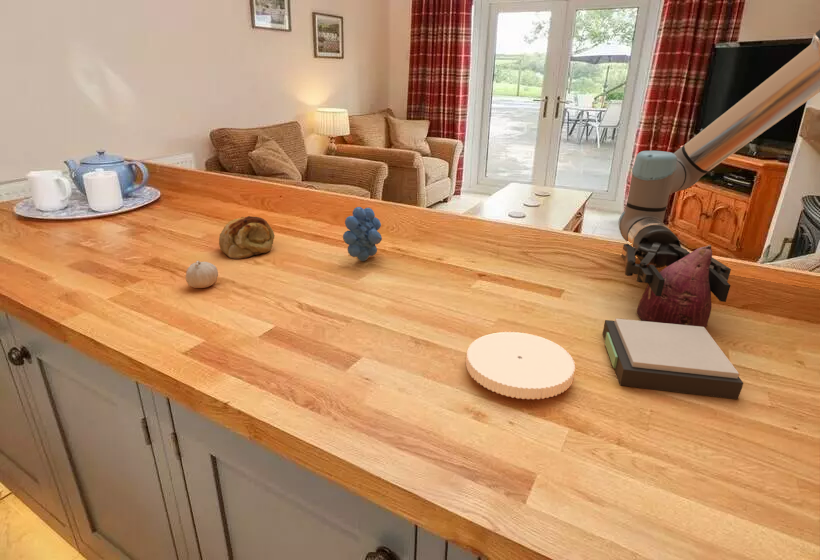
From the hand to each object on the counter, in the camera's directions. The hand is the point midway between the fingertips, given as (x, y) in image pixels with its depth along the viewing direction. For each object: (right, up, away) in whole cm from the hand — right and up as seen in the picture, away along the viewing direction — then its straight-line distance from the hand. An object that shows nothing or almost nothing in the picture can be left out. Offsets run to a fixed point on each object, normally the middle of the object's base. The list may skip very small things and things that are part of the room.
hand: (692, 290), depth 73 cm
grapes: (-51, +5, +30) cm, 60 cm away
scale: (-7, -10, -5) cm, 13 cm away
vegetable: (+1, -5, +8) cm, 9 cm away
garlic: (-81, 0, +18) cm, 82 cm away
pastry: (-78, +8, +37) cm, 87 cm away
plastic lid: (-28, -11, -7) cm, 31 cm away
